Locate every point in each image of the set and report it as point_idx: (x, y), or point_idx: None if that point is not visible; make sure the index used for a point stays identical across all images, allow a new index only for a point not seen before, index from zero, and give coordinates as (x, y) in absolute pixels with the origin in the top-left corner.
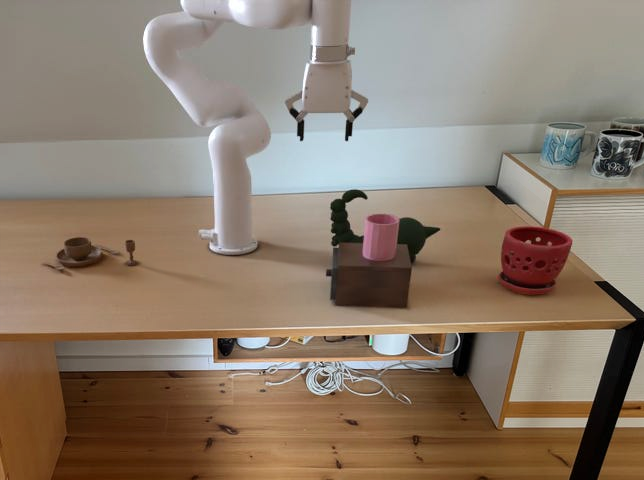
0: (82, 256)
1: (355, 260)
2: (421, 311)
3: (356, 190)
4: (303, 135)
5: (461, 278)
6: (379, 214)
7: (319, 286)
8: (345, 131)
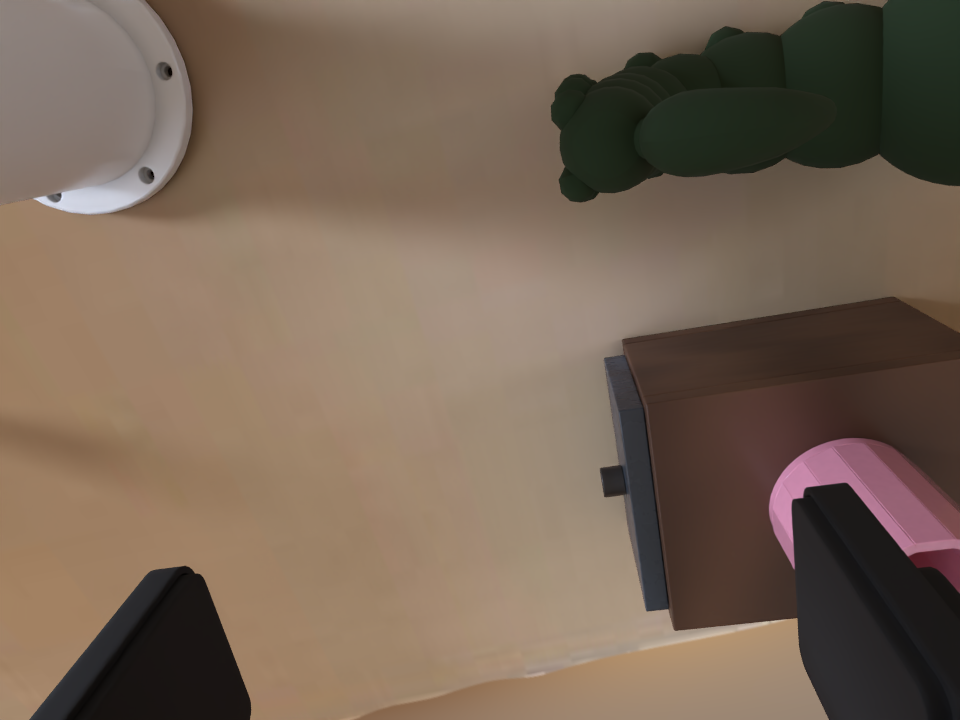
0: None
1: (741, 575)
2: None
3: (763, 140)
4: (214, 715)
5: None
6: (920, 550)
7: (567, 405)
8: (840, 666)
